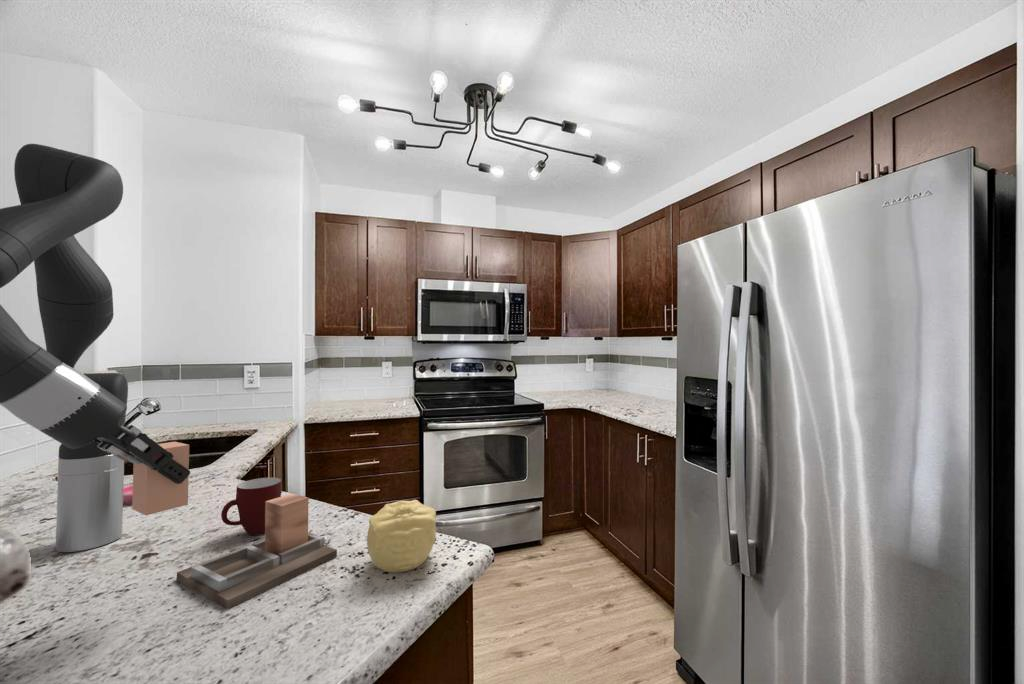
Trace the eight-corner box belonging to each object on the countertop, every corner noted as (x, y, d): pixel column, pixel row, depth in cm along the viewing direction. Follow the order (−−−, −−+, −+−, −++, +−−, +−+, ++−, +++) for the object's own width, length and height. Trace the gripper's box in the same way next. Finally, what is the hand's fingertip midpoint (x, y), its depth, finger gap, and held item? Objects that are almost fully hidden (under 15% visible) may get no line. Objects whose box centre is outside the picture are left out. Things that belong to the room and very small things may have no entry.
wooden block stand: (176, 579, 67) (178, 516, 68) (284, 538, 83) (285, 486, 83) (227, 609, 59) (229, 536, 60) (336, 556, 75) (337, 499, 75)
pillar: (132, 509, 61) (134, 447, 62) (173, 499, 65) (174, 441, 66) (145, 515, 59) (147, 451, 59) (187, 504, 63) (189, 444, 63)
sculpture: (370, 588, 65) (370, 517, 65) (364, 555, 76) (364, 495, 76) (442, 572, 69) (442, 506, 70) (427, 543, 80) (426, 486, 81)
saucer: (189, 492, 113) (189, 480, 113) (139, 508, 101) (139, 495, 101) (154, 489, 116) (154, 478, 116) (101, 505, 104) (101, 492, 104)
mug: (229, 548, 79) (230, 494, 79) (215, 537, 84) (216, 487, 84) (287, 530, 87) (288, 481, 87) (271, 520, 92) (272, 475, 92)
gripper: (115, 385, 53) (219, 460, 63) (79, 382, 60) (177, 449, 70) (53, 433, 48) (176, 506, 58) (21, 424, 55) (135, 490, 65)
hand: (176, 475), depth 64 cm, fingers closed on pillar, 5 cm apart
